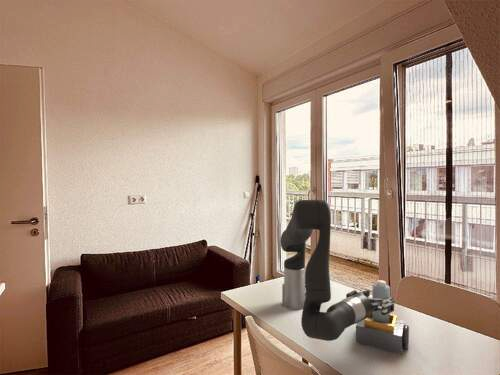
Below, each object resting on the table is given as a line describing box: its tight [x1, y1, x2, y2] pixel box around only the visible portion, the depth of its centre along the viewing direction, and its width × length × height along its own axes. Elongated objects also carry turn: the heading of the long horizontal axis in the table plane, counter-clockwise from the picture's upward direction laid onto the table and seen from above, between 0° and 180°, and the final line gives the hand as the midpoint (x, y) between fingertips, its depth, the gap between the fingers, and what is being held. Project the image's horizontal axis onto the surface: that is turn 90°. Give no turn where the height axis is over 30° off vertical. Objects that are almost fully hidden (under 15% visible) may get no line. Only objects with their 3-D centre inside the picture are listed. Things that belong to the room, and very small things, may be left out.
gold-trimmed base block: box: [355, 313, 410, 356], centre depth 102 cm, size 16×12×8 cm
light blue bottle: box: [371, 279, 391, 324], centre depth 102 cm, size 6×6×15 cm
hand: (380, 296), depth 102 cm, fingers open, 8 cm apart
